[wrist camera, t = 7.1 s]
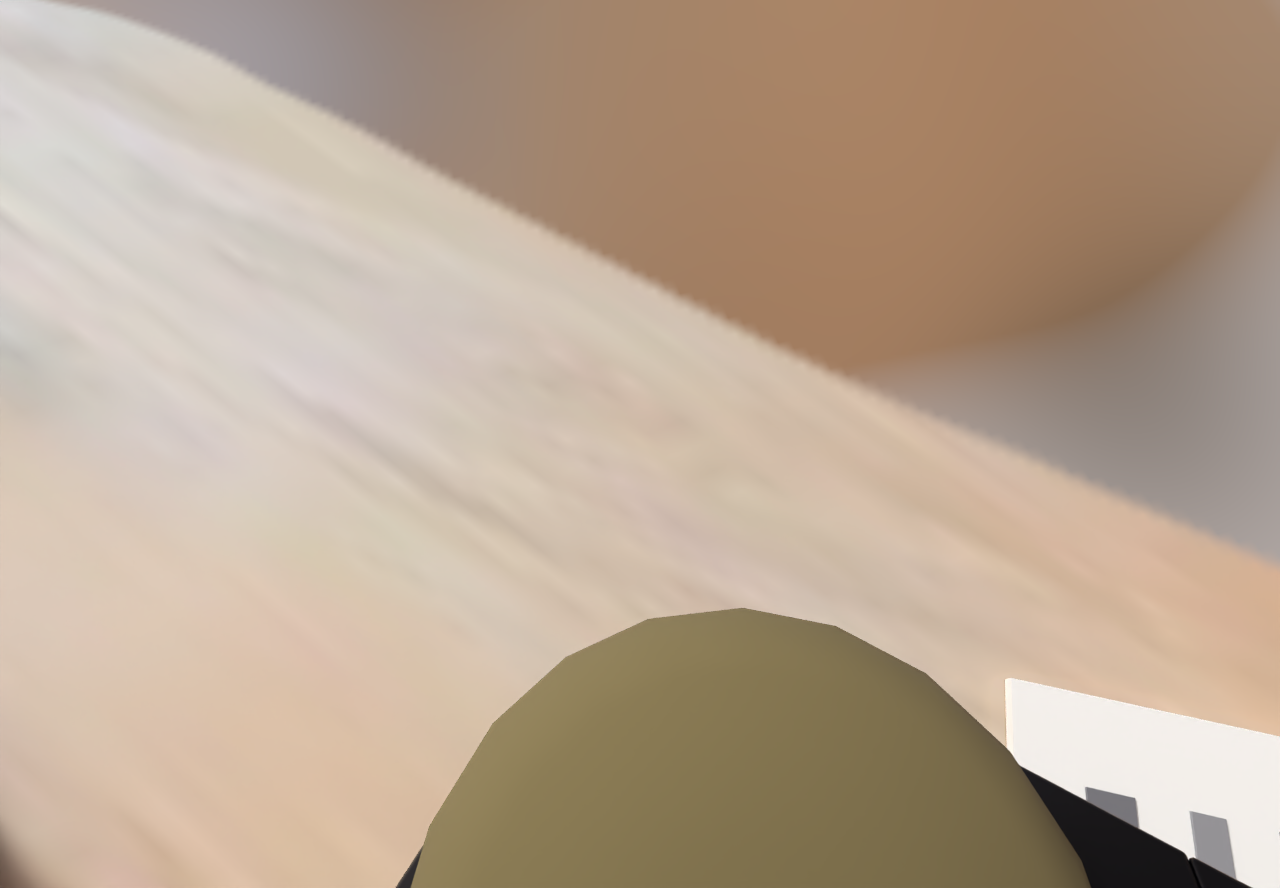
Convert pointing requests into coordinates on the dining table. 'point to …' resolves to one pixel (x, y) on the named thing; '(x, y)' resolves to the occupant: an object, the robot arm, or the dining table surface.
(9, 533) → the dining table surface
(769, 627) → the cork
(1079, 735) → the letter
